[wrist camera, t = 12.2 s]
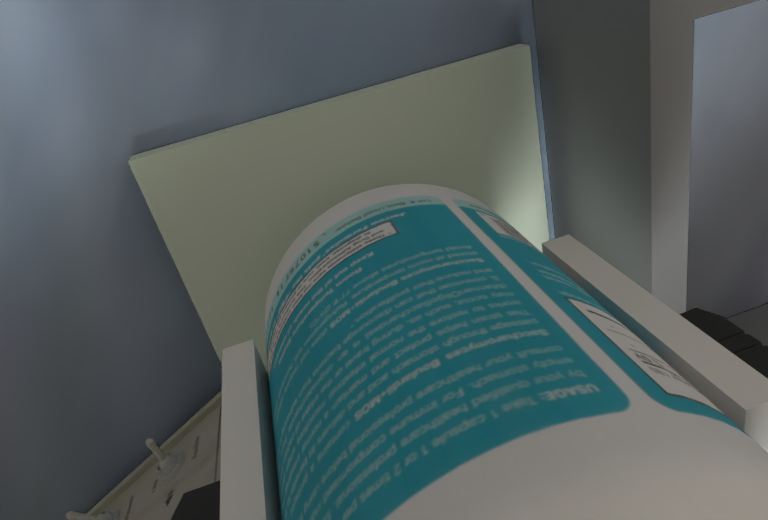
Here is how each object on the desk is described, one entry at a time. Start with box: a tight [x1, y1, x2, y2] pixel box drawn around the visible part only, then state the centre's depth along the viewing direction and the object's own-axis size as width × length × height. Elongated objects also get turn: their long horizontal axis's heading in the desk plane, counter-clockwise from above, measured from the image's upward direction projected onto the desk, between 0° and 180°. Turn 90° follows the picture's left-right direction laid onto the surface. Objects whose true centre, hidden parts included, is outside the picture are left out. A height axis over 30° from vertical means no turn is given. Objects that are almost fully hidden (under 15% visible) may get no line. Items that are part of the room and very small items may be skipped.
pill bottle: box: [264, 184, 768, 520], centre depth 10 cm, size 8×7×14 cm
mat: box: [128, 43, 550, 373], centre depth 18 cm, size 11×11×1 cm
